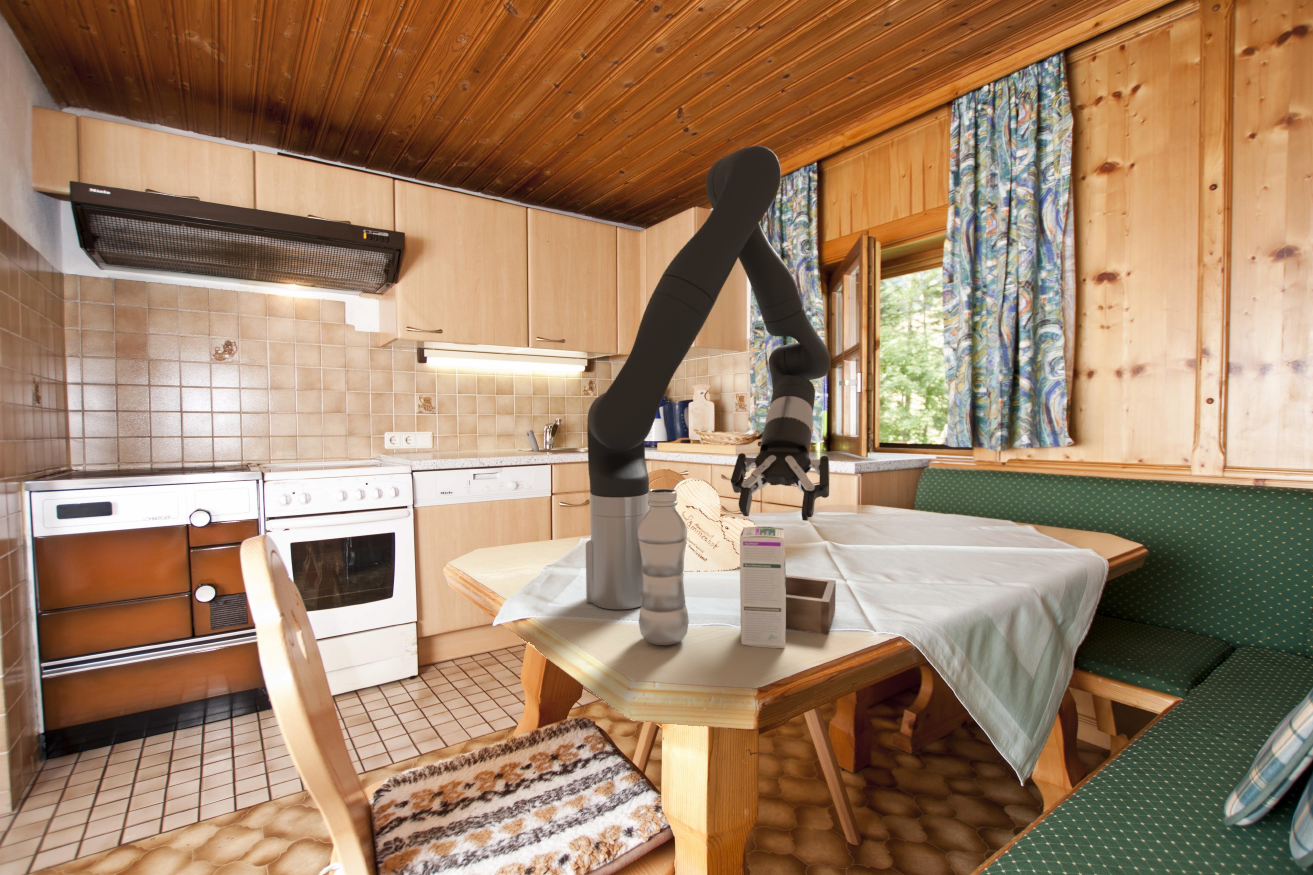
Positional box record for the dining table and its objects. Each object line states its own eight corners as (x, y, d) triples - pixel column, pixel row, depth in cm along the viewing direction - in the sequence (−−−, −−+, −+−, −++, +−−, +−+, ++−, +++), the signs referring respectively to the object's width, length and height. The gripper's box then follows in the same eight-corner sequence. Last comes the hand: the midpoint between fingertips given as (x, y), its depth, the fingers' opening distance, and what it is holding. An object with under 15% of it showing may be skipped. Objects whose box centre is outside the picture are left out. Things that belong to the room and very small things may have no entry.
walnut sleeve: (755, 624, 82) (755, 593, 82) (768, 601, 91) (769, 573, 91) (828, 634, 78) (829, 602, 78) (835, 609, 87) (835, 580, 87)
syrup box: (786, 649, 74) (787, 536, 73) (739, 645, 75) (739, 535, 74) (785, 631, 79) (786, 527, 78) (741, 628, 81) (742, 525, 80)
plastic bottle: (699, 640, 77) (698, 490, 75) (663, 656, 72) (662, 496, 71) (664, 626, 81) (663, 485, 80) (628, 641, 76) (626, 491, 75)
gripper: (740, 415, 93) (721, 497, 83) (832, 415, 88) (824, 503, 78) (747, 445, 98) (730, 526, 88) (835, 447, 93) (827, 533, 83)
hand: (774, 515), depth 83 cm, fingers open, 8 cm apart
